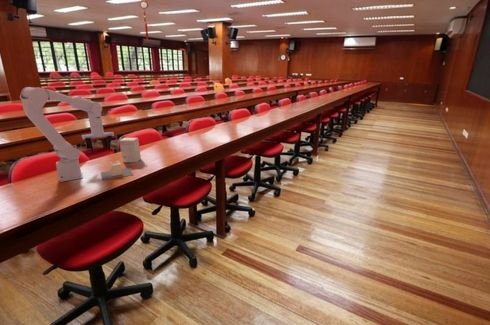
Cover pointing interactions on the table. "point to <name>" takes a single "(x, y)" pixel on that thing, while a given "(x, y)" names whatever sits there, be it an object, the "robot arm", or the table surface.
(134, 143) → the small box
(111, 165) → the eraser block
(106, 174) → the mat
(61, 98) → the robot arm
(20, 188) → the table surface
